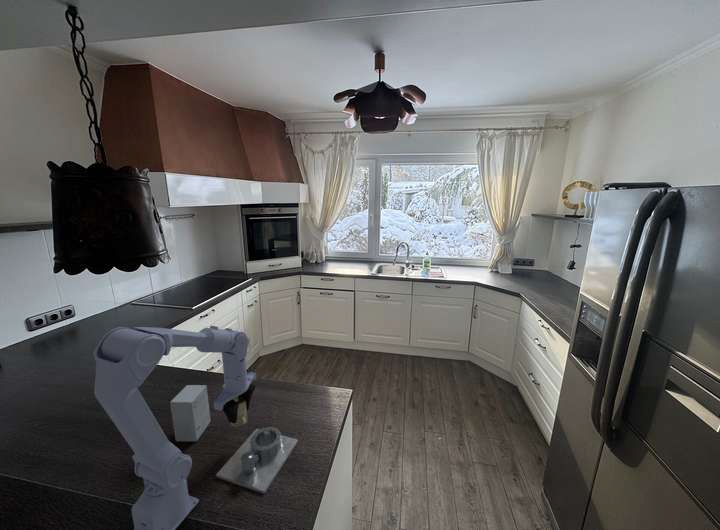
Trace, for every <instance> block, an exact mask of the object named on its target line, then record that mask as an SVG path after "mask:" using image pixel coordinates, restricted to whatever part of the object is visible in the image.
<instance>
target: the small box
mask: <svg viewBox="0 0 720 530" xmlns="http://www.w3.org/2000/svg"><path fill="white" fill-rule="evenodd" d="M169 404H170V411H171V417H172V425H173V432H174V438H175V442H198V440H199V439H200V438H201V436H202V435H203V433H204V432H205V430H206V429H207V428H208V426H209V425H210V424H211V421H212V420H211V414H210V412H211V411H210V406H209V395H208V386H207V385H206V384H204V385H202V384H201V385H200V384H192V385H191V384H189V385H188V384H187V385H185V387H183V388H182V389H181V391H179V393H178V394H177V395H176V396H174V397H173V398H172V399H171V401H170V403H169Z"/></svg>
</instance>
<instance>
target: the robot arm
mask: <svg viewBox="0 0 720 530" xmlns="http://www.w3.org/2000/svg"><path fill="white" fill-rule="evenodd" d="M249 344H250V338H248V335H247V334H246V333H245V332H243V331H239V330H233V328H230V327H229V328H228V327H226V328H223V329H220V327H219V326H216V325H210V326H209V327H204V328H202V329H201V330H199V331H198V332H196V331H189V330H181V329H173V328H164V327H151V326H149V327H148V326H138V327H137V326H136V327H133V329H132V328H130V327H128V326H127V327H125V326H120V327H115V328H112V329H111V330H109V331H107V332H106V333H105V334H104V335H103V336H102V337H101V339H100V340H99V342H98V343H97V345H96V347H95V349H94V351H93V352H92V355H93V357H94V358H93V359H94V360H95V365H96V366H95V377H94V378H95V379H94V388H93V391H94V392H93V393H94V396H95V398H96V399H97V401H98V403H99V404H100V405H101V407H102V409H103V410H104V411H105V412H106V414H107V415H108V417H109V419H110V420H111V421H112V422H113V423H114V425H115V427H116V428H117V430H118V431H119V432H120V434H121V436H122V437H123V438H124V439H125V441H126V442H127V443H128V445H129V447H130V448H131V450H132V452H133V453H134V454H133V455H132V459H133V461H134V473H135V475H136V476H137V477H139V478H142V479H143V480H142V481H143V483H144V490H143V492H142V494H141V495H140V497H139V498H138V500H137V501H136V502H135V503H134V504H133V505H132V507H131V515H132V516H131V517H132V521H133V527H134V529H133V530H176V529H177V528H178V527H179V526H180V525H181V524H182V522H183V521H184V520H185V519H186V517H188V515H189V514H191V513H190V512H192V510H193V509H194V508H195V507H196V506H197V505H198V504H199V501H200V499H199V498H197V497H194V496H191V495H190V494H189V489H188V482H187V478H188V476H189V474H190V471H191V469H192V465H193V460H192V457H191V456H190V455H189V454H183V453H182V451H181V450H180V449H179V448H178V447H177V446H176V445H174V444H173V443H172V442H171V441H169V439H168V437H167V436H166V434H165V432H164V430H163V429H162V427H161V426H160V424H159V422H158V421H157V419H156V417H155V416H154V414H153V412H152V411H151V408H150V407H149V406H148V404H147V403H146V401H145V398H143V395H142V394H141V392H140V390H139V387H140V386H141V385H142V384H143V383H144V381H146V379H147V378H148V376H149V375H151V372H153V371H154V369H155V368H156V367H157V365H158V364H159V363H160V361H161V360H162V359H163V357H164V356H169V354H170V352H171V349H172V348H196V350H197V351H198V352H199V353H214V354H215V353H221V357H222V359H221V360H222V370H223V379H224V384H222V389H223V390H222V392H221V394H220V395H219V396H218V398H217V399H216V400H215V401H214V402H213V408H214V409H213V410H216V411H220V412H221V411H223V413H224V414H225V416H226V419H227V420H228V422H229V423H230V424H231V423H234V424H235V423H236V422H237V409H238V405H239V403H240V402H236V401H234V400H233V399H234V398H237V397H243V398H245V399H246V409H247V412H248V411H249V409H250V403H251V399H252V396H253V393H254V392H255V389H256V385H255V384H252V381H253V382H254V381H256V380H257V373H256V372H252V371H250V372H248V373H247V361H246V360H247V358H246V357H247V355H248V347H249Z"/></svg>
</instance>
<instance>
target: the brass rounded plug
mask: <svg viewBox="0 0 720 530" xmlns="http://www.w3.org/2000/svg"><path fill="white" fill-rule="evenodd" d="M233 400H234V401H236V402H240V403H239V405H238V409H237V422H236V423H235V424H234V423H230V425H231V426H232V427H236V428H237V427H241V426H243V425H245V424H246V423H247V422H248V413H247V412H248V411H247V409H246V399H245V398H243V397H238V396H237V397H235V398H234V399H233Z"/></svg>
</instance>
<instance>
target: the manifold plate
mask: <svg viewBox="0 0 720 530" xmlns="http://www.w3.org/2000/svg"><path fill="white" fill-rule="evenodd" d="M298 442H299V439H296V438H293V437H290V436H286V435H282V432H281V431H280V430H279V428H277V427H274V426H268V427H262V428H255V430H253V432H252V433H251V434H250V435H249V437H248V438H246V439H245V441H244V442H243V444H241V446H240V447H239V448H238V449H237V450H236V451H235V453H234V454H233V455H232V456H231V457H230V458H229V459H228V460H227V462H225V464H224V465H223V466H222V467H221V469H220V470H219V471H218V472H217V473H216V475H215V476H216V478H218V479H221V480H223V481H226V482H229V483H232V484H235V485H239V486H241V487H244V488H246V489H249V490H252V491H255V492H258V493H260V494H266V492H267V490H268V488H269V487H270V486H271V485H272V483H273V481H274V480H275V478H276V476H277V475H278V473H279V472H280V470H281V468H282V467H283V466H284V464H285V463H286V461H287V459H288V458H289V456H290V455H291V453H292V452H293V450H294V449H295V448H296V445H297V444H298Z"/></svg>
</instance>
